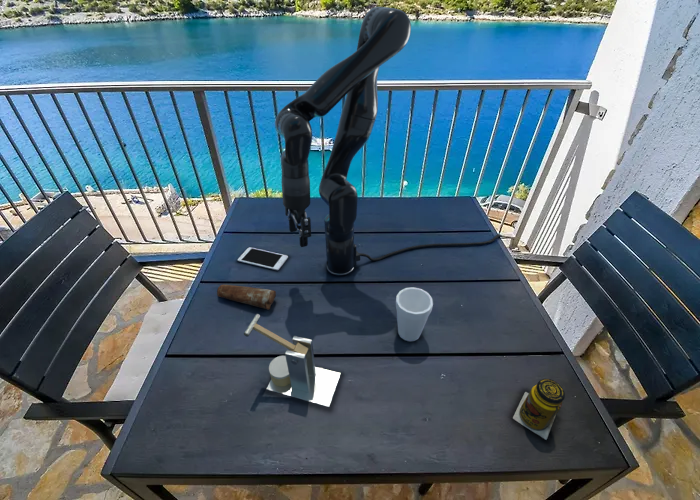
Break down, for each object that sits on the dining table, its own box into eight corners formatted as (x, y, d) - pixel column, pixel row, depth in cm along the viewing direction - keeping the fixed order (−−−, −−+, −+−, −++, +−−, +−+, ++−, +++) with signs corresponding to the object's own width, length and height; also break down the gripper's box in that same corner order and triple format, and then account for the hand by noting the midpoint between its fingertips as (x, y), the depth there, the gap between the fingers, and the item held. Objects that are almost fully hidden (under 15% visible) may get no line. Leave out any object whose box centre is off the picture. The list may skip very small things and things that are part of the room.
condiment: (512, 418, 79) (529, 390, 71) (525, 391, 84) (542, 363, 76) (546, 440, 75) (567, 413, 68) (557, 411, 80) (578, 382, 73)
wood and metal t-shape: (242, 336, 75) (245, 330, 74) (254, 317, 79) (257, 311, 78) (298, 367, 77) (302, 362, 75) (307, 347, 81) (311, 342, 79)
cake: (290, 361, 90) (288, 351, 87) (299, 379, 86) (297, 370, 83) (267, 371, 87) (265, 361, 85) (276, 390, 83) (273, 381, 81)
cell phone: (278, 271, 118) (277, 269, 118) (237, 261, 122) (236, 259, 122) (288, 257, 124) (288, 255, 123) (249, 248, 128) (248, 246, 128)
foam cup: (428, 324, 100) (435, 292, 92) (423, 349, 93) (430, 317, 85) (396, 315, 103) (400, 284, 95) (388, 340, 96) (392, 308, 88)
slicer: (266, 391, 84) (256, 355, 75) (282, 360, 91) (274, 323, 82) (329, 409, 81) (326, 373, 72) (340, 375, 88) (339, 338, 78)
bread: (269, 314, 103) (267, 301, 100) (214, 300, 108) (210, 287, 104) (279, 299, 108) (277, 286, 104) (226, 286, 113) (222, 273, 109)
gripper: (319, 197, 90) (319, 248, 100) (299, 176, 100) (301, 223, 110) (292, 203, 87) (295, 254, 97) (274, 180, 97) (278, 229, 107)
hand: (298, 238), depth 103 cm, fingers open, 8 cm apart
